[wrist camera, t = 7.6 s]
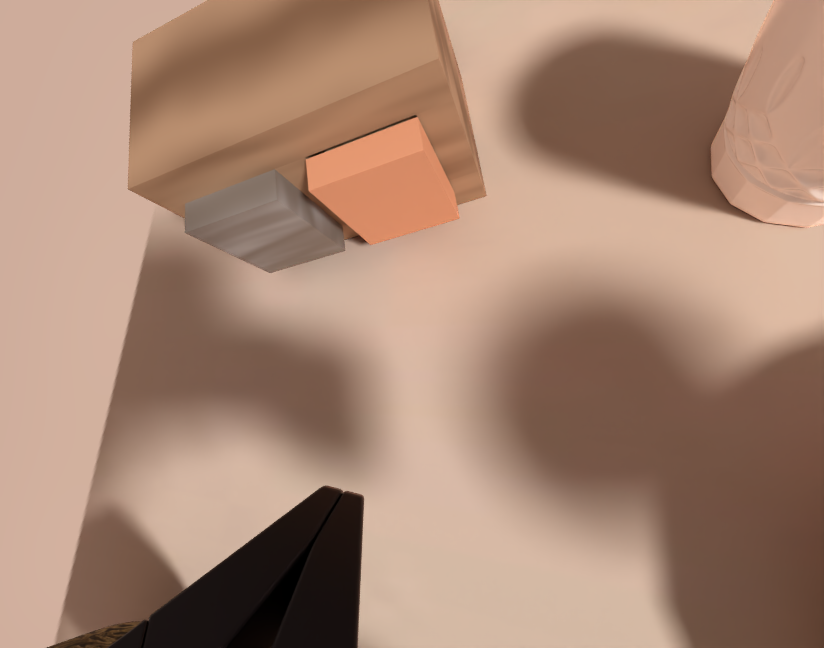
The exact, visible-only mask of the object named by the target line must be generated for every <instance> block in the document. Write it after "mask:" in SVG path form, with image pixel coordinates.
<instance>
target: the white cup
mask: <svg viewBox="0 0 824 648" xmlns="http://www.w3.org/2000/svg"><path fill="white" fill-rule="evenodd" d="M711 170H712V178H713V180H714V181H715V183H716V184H717V186H718V187H719V188H720V190H721V191H722V193H723V194H724V196H725V197H726V199H727V200H728V201H729V203H730V204H731V205H733V206H735V207H737V208H739V209H740V210H742V211H744V212H746V213H748V214H750V215H751V216H753V217H755V218H757V219H759V220H761V221H763V222H766V223H774V224H782V225H790V226H798V227H806V228H809V227H813V226H818V225H823V224H824V0H774V1H773V3H772V5H771V7H770V9H769V11H768V14H767V16H766V18H765V20H764V22H763V24H762V26H761V28H760V30H759V33H758V35H757V37H756V39H755V42H754V44H753V47H752V49H751V52H750V54H749V57H748V59H747V61H746V63H745V66H744V68H743V70H742V72H741V74H740V77H739V79H738V82H737V84H736V87H735V89H734V91H733V93H732V98H731V102H730V105H729V109H728V111H727V113H726V116H725V118H724V120H723V122H722V124H721V126H720V128H719V130H718V132H717V134H716V136H715V138H714V140H713V142H712V145H711Z"/></svg>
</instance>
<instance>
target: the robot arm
mask: <svg viewBox="0 0 824 648" xmlns="http://www.w3.org/2000/svg"><path fill="white" fill-rule="evenodd" d="M363 512H364V497H363V495H361V494H357V493H353V492H350V491H345V492H343V490H341V489H338V488H334V487H331V486H323V487H321V488H319V489H318V490H317V491H315V492H314V493H313V494H311V495H310V496H309V497H307V498H306V499H305V500H303V501H302V502H301V503H299V504H298V505H297V506H295V507H294V508H293V509H292V510H290V511H289V512H288V513H286V514H285V515H284V516H282V517H281V518H280V519H278V520H277V521H276V522H274V523H273V524H272V525H270V526H269V527H268V528H266V529H265V530H264V531H262V532H261V533H260V534H258V535H257V536H256V537H254V538H253V539H252V540H250V541H249V542H248V543H246V544H245V545H244V546H242V547H241V548H240V549H238V550H237V551H236V552H234V553H233V554H232V555H230V556H229V557H228V558H226V559H225V560H224V561H222V562H221V563H220V564H218V565H217V566H216V567H214V568H213V569H212V570H210V571H209V572H208V573H206V574H205V575H204V576H202V577H201V578H200V579H198V580H197V581H196V582H194V583H193V584H192V585H190V586H189V587H188V588H186V589H185V590H184V591H182V592H181V593H180V594H178V595H177V596H176V597H174V598H173V599H172V600H170V601H169V602H168V603H166V604H165V605H164V606H162V607H161V608H160V609H158V610H157V611H156V612H154V613H153V614H152V615H151V616H150V618H149V621H148V620H147V619H146V620H143V621H142V622H141V623H139V624H138V625H137V626H135V627H134V628H133V629H131V630H130V631H129V632H127V633H126V634H125V635H123V636H122V637H121V638H119V639H118V640H117V641H115V642H114V643H113V644H111V645H110V646H108V647H107V648H358V627H359V604H360V581H361V558H362V535H363Z"/></svg>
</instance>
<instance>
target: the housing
mask: <svg viewBox="0 0 824 648" xmlns="http://www.w3.org/2000/svg"><path fill="white" fill-rule="evenodd" d="M414 115H416V116H417V117H418V119H419V121H420V123H421V125H422V127H423V129H424V131H425V133H426V135H427V137H428V139H429V141H430V143H431V145H432V147H433V149H434V151H435V153H436V156H437V158H438V160H439V162H440V164H441V166H442V168H443V170H444V172H445V174H446V176H447V178H448V180H449V182H450V184H451V186H452V188H453V190H454V192H455V198H456V203H457V205H459V204H462V203H465V202H468V201H472V200H475V199H478V198H481V197H485V196H486V191H485V186H484V182H483V177H482V172H481V168H480V163H479V158H478V153H477V149H476V144H475V139H474V135H473V130H472V125H471V121H470V116H469V111H468V106H467V102H466V97H465V92H464V88H463V83H462V78H461V74H460V71H459V68H458V64H457V61H456V58H455V54H454V51H453V48H452V44H451V41H450V38H449V34H448V31H447V27H446V24H445V21H444V17H443V14H442V11H441V7H440V4H439V1H438V0H207V1H206V2H204V3H202V4H200V5H198V6H197V7H195V8H193V9H191V10H190V11H188V12H186V13H184V14H182V15H180V16H179V17H177V18H175V19H173V20H171V21H170V22H168V23H166V24H164V25H163V26H161V27H159V28H157V29H155V30H154V31H152V32H150V33H149V34H146V35H145V36H143V37H141V38H139V39H137V40H136V41H134V42H133V50H132V79H131V109H130V138H129V167H128V168H129V169H128V190H130V191H132V192H134V193H136V194H138V195H140V196H142V197H144V198H146V199H148V200H150V201H152V202H154V203H156V204H158V205H160V206H162V207H164V208H166V209H167V210H169V211H171V212H173V213H175V214H177V215H179V216H181V217H183V218H185V233H187V234H189V235H191V236H193V237H195V238H197V239H199V240H201V241H203V242H206V243H208V244H210V245H212V246H214V247H216V248H218V249H220V250H223V251H225V252H227V253H229V254H231V255H233V256H235V257H237V258H239V259H242V260H244V261H246V262H248V263H250V264H252V265H254V266H256V267H258V268H261V269H263V270H265V271H267V272H269V273H272V272H275V271H279V270H282V269H285V268H289V267H292V266H295V265H299V264H302V263H305V262H309V261H312V260H315V259H319V258H322V257H325V256H329V255H332V254H335V253H339V252H342V251H345V244H344V240H345V239H349V238H352V237H355V236H358V235H359V234H358V233H356V232H355V231H354V230H353V229H352V228H351V227H350V226H348V225H347V224H346V223H345V222H344V221H343V220H341V219H340V218H339V217H338V216H337V215H336V214H335V213H333V212H332V211H331V210H330V209H329V208H328V207H327V206H325V205H324V204H323V203H322V202H321V201H320V200H319V199H317V198H316V197H315V196H314V195H313V194H312V193H310V192H309V189H308V178H307V167H306V159H309V158H311V157H314V156H316V155H319V154H322V153H324V152H325V150H326V149H328V148H331V147H333V146H336V145H339V144H341V143H344V142H346V141H349V140H352V139H354V138H357V137H359V136H362V135H364V134H367V133H370V132H372V131H375V130H377V129H380V128H383V127H385V126H388V125H390V124H393V123H396V122H398V121H401V120H403V119H406V118H409V117H411V116H414Z"/></svg>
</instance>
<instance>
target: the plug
mask: <svg viewBox="0 0 824 648" xmlns="http://www.w3.org/2000/svg"><path fill="white" fill-rule="evenodd" d="M306 167H307V178H308V189H309V192H310V193H312V194H313V195H314V196H315V197H316V198H317V199H319V200H320V201H321V202H322V203H323V204H324V205H325V206H327V207H328V208H329V209H330V210H331V211H332V212H333V213H335V214H336V215H337V216H338V217H339V218H340V219H341V220H343V221H344V222H345V223H346V224H347V225H348V226H350V227H351V228H352V229H353V230H354V231H355V232H356V233H358V234H359V235H360V236H361V237H362V238H363V239H364V240H366V241H367V242H368V243H369V244H370V245H372V244H376V243H379V242H382V241H386V240H389V239H392V238H396V237H399V236H402V235H406V234H409V233H412V232H416V231H419V230H422V229H426V228H429V227H433V226H436V225H439V224H443V223H446V222H449V221H453V220H456V219H459V213H458V208H457V203H456V198H455V192H454V190H453V188H452V186H451V184H450V182H449V180H448V178H447V176H446V174H445V172H444V170H443V168H442V166H441V164H440V162H439V160H438V158H437V156H436V153H435V151H434V149H433V147H432V145H431V143H430V141H429V139H428V137H427V135H426V133H425V131H424V129H423V127H422V125H421V123H420V121H419V119H418V117H417V116H416V115H414V116H411V117H409V118H406V119H403V120H401V121H398V122H396V123H393V124H390V125H388V126H385V127H383V128H380V129H377V130H375V131H372V132H370V133H367V134H364V135H362V136H359V137H357V138H354V139H352V140H349V141H346V142H344V143H341V144H339V145H336V146H333V147H331V148H328V149H326V150H325V152H324V153H322V154H319V155H316V156H314V157H311V158H309V159H306Z"/></svg>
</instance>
